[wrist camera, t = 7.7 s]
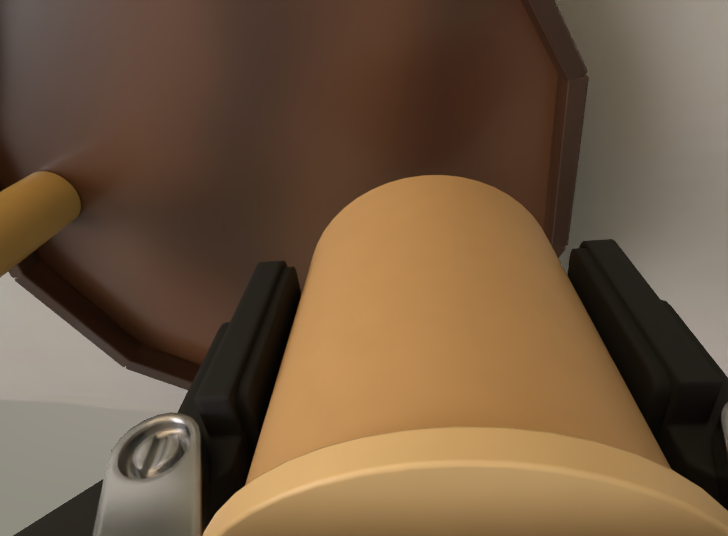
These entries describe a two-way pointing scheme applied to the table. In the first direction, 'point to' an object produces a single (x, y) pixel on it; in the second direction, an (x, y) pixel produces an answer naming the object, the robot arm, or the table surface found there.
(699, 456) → the robot arm
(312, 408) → the tan cylinder
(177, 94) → the tray
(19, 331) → the table surface
